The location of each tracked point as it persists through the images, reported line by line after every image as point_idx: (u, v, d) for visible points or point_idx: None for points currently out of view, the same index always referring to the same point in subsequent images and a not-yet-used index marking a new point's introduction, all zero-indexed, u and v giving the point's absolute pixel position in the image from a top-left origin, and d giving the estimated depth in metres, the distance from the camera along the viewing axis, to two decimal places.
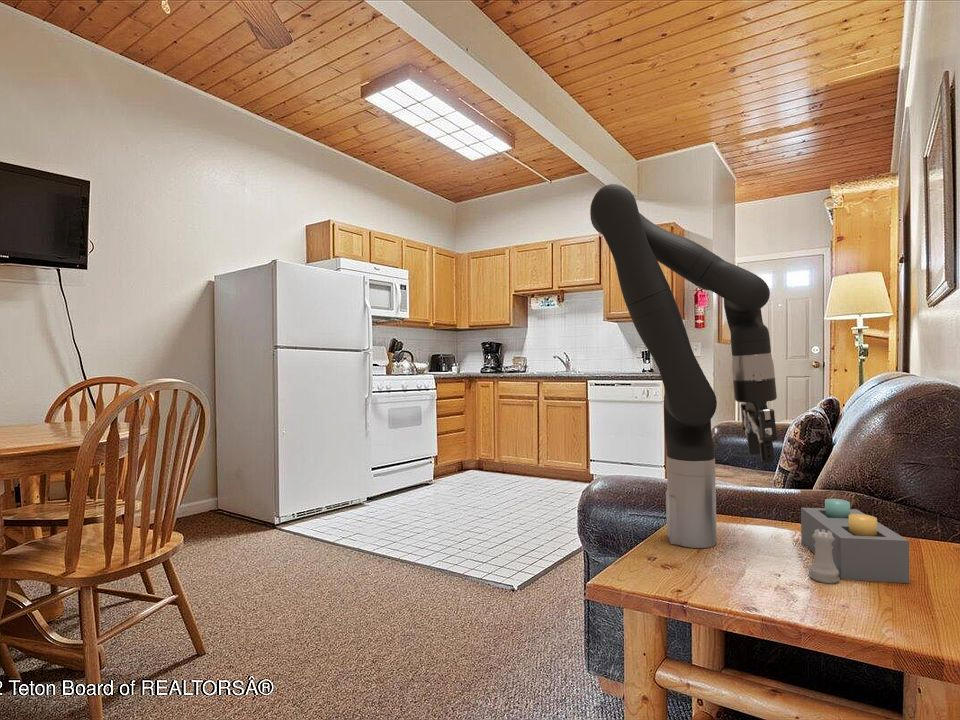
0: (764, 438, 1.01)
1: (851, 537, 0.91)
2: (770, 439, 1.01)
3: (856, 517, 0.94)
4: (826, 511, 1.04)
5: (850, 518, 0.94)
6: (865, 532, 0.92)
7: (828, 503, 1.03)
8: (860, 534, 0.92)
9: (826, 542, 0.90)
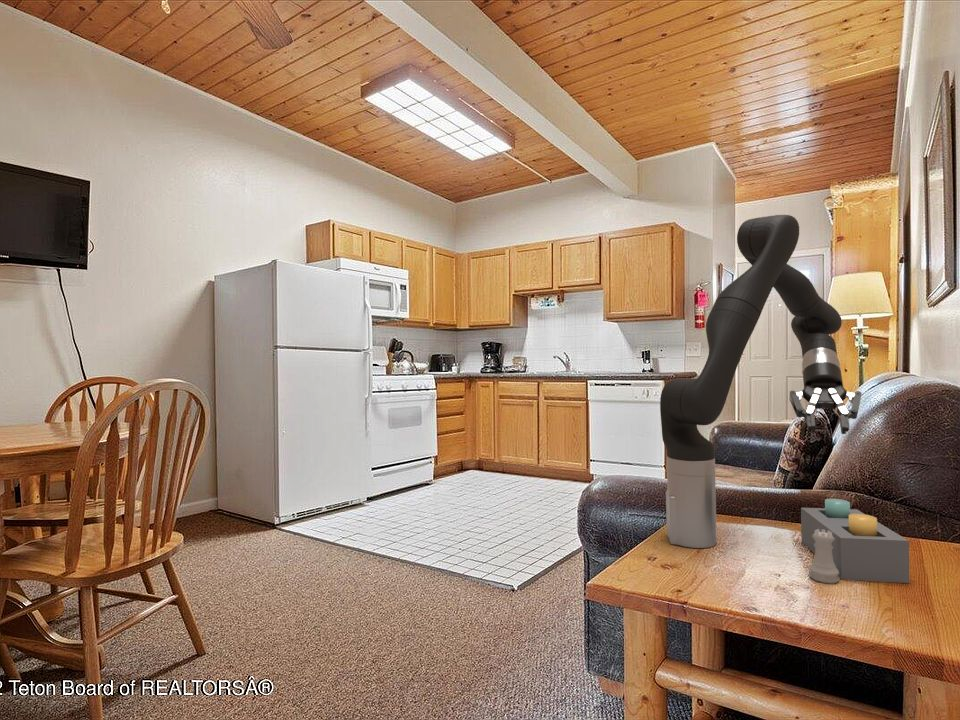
0: (857, 410, 1.15)
1: (851, 537, 0.91)
2: (856, 414, 1.15)
3: (856, 517, 0.94)
4: (826, 511, 1.04)
5: (850, 518, 0.94)
6: (865, 532, 0.92)
7: (828, 503, 1.03)
8: (860, 534, 0.92)
9: (826, 542, 0.90)
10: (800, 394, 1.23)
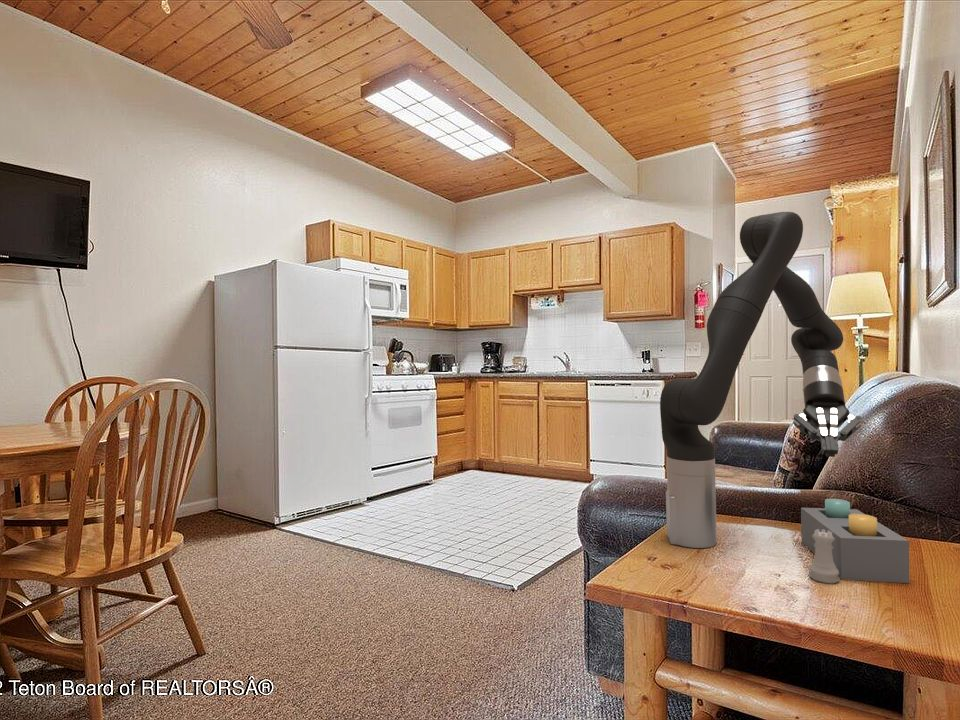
0: (846, 433, 1.11)
1: (851, 537, 0.91)
2: (846, 436, 1.12)
3: (856, 517, 0.94)
4: (826, 511, 1.04)
5: (850, 518, 0.94)
6: (865, 532, 0.92)
7: (828, 503, 1.03)
8: (860, 534, 0.92)
9: (826, 542, 0.90)
10: (803, 415, 1.18)
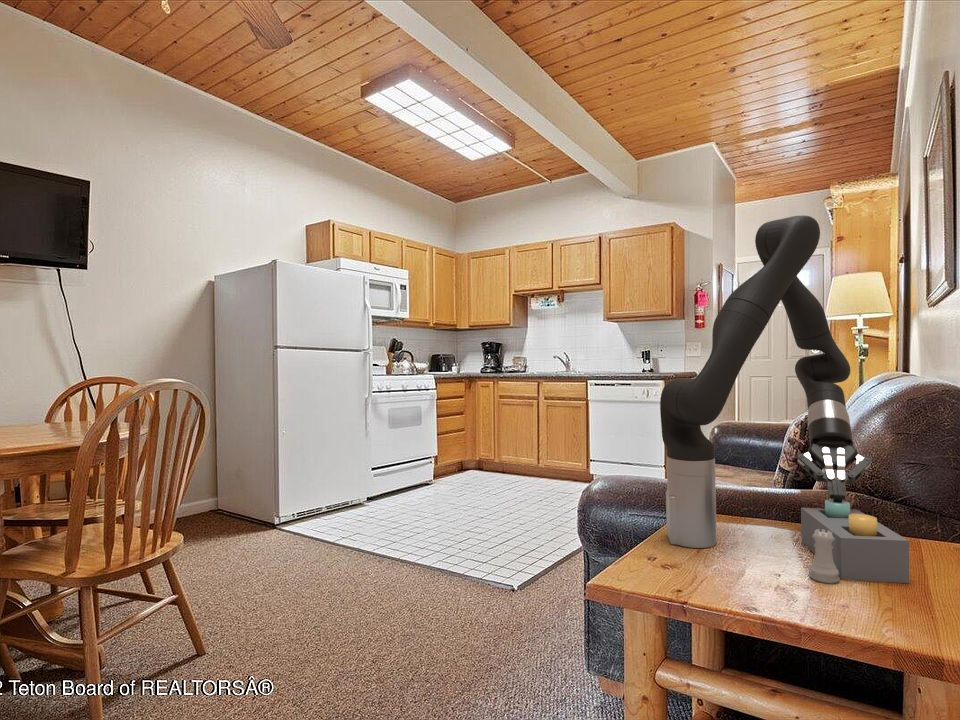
0: (855, 477, 1.04)
1: (851, 537, 0.91)
2: (854, 479, 1.05)
3: (856, 517, 0.94)
4: (826, 512, 1.04)
5: (850, 518, 0.94)
6: (865, 532, 0.92)
7: (828, 504, 1.03)
8: (860, 534, 0.92)
9: (826, 542, 0.90)
10: (808, 455, 1.11)
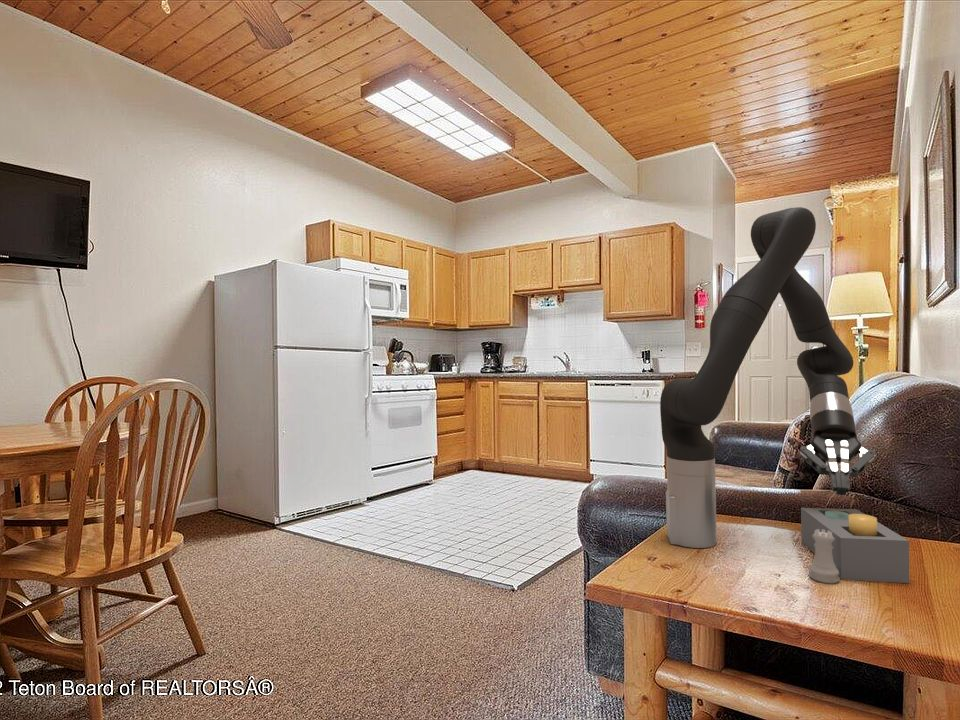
0: (858, 469, 1.02)
1: (851, 537, 0.91)
2: (858, 472, 1.03)
3: (856, 517, 0.94)
4: None
5: (850, 518, 0.94)
6: (865, 532, 0.92)
7: (828, 515, 1.03)
8: (860, 534, 0.92)
9: (826, 542, 0.90)
10: (811, 448, 1.09)
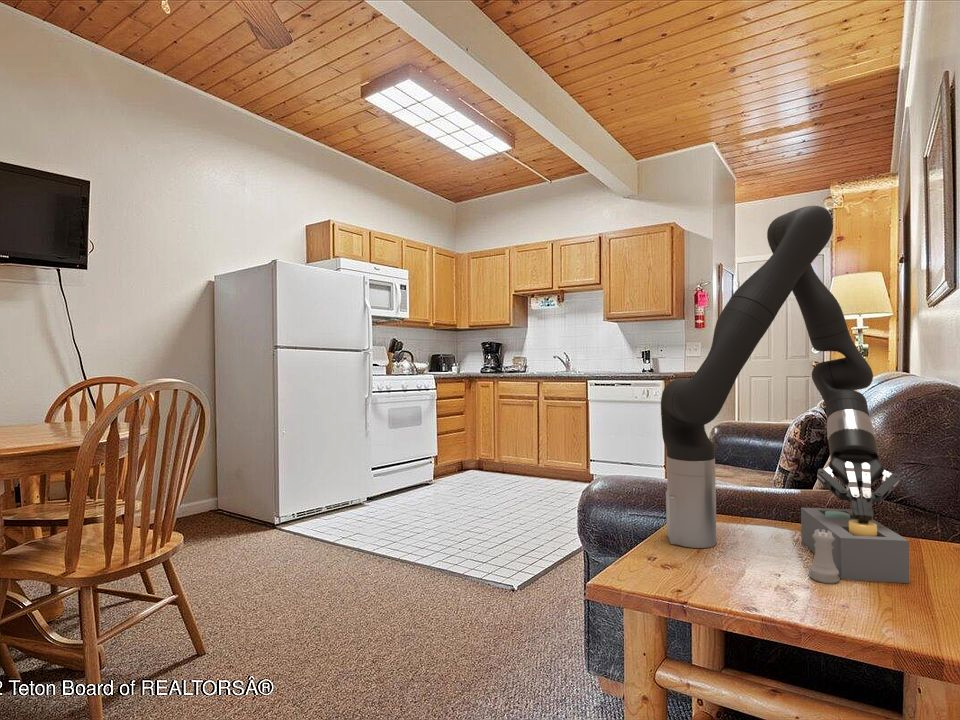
0: (882, 495, 0.94)
1: (851, 537, 0.91)
2: (881, 497, 0.95)
3: (856, 523, 0.94)
4: None
5: (850, 524, 0.94)
6: None
7: (828, 515, 1.03)
8: None
9: (826, 542, 0.90)
10: (829, 470, 1.01)
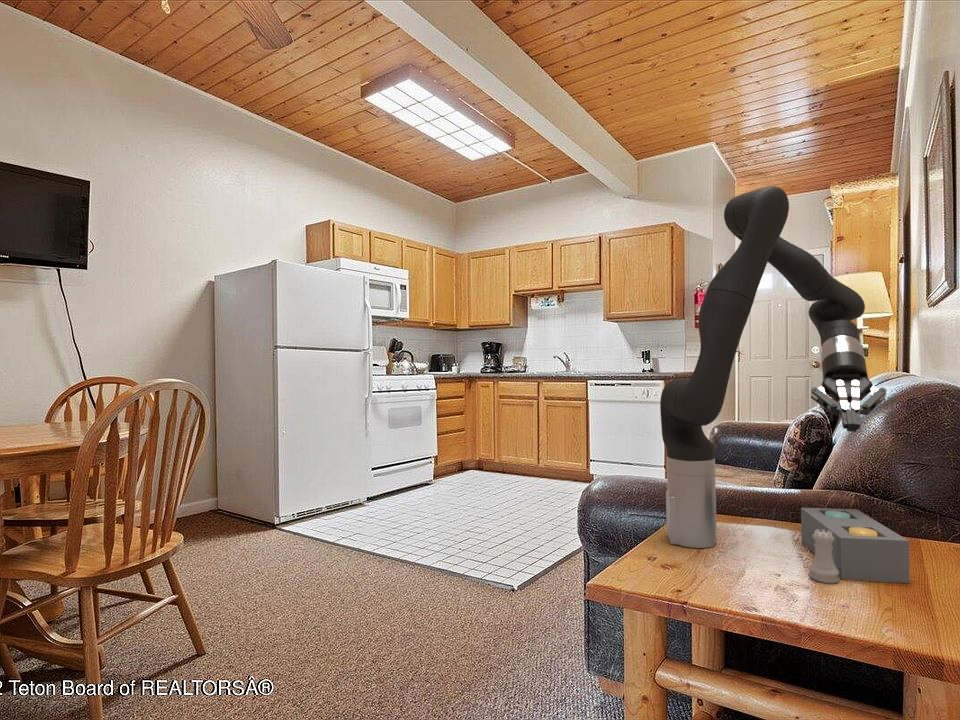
0: (869, 407, 1.03)
1: (851, 537, 0.91)
2: (869, 409, 1.04)
3: (856, 531, 0.94)
4: None
5: (850, 532, 0.94)
6: None
7: (828, 515, 1.03)
8: None
9: (826, 542, 0.90)
10: (822, 389, 1.10)
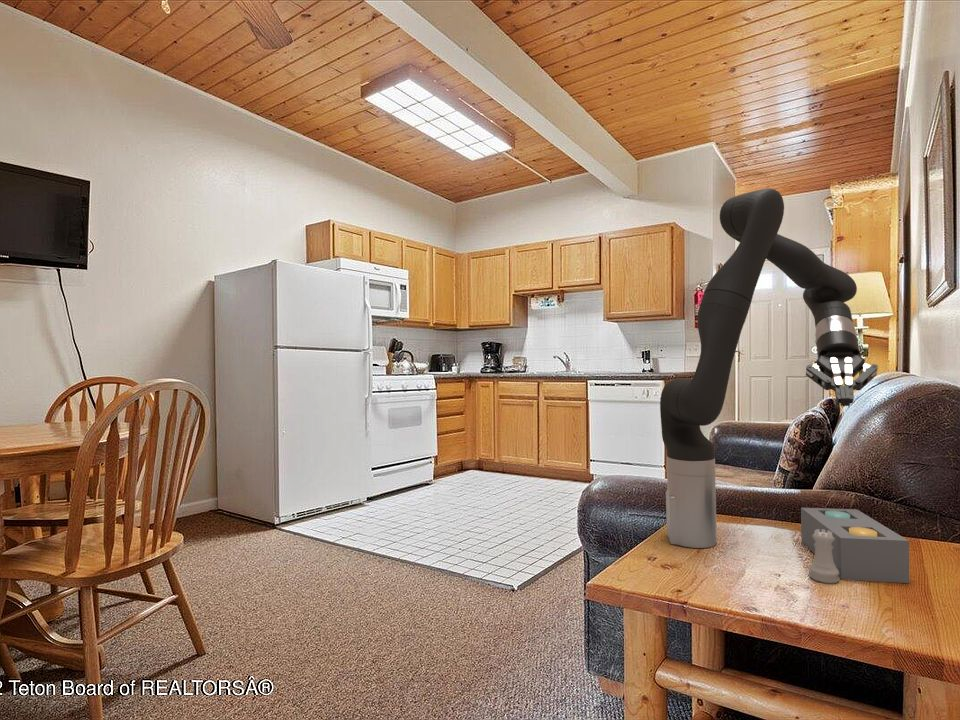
0: (862, 382, 1.07)
1: (851, 537, 0.91)
2: (861, 385, 1.08)
3: (856, 531, 0.94)
4: None
5: (850, 532, 0.94)
6: None
7: (828, 515, 1.03)
8: None
9: (826, 542, 0.90)
10: (816, 366, 1.14)
